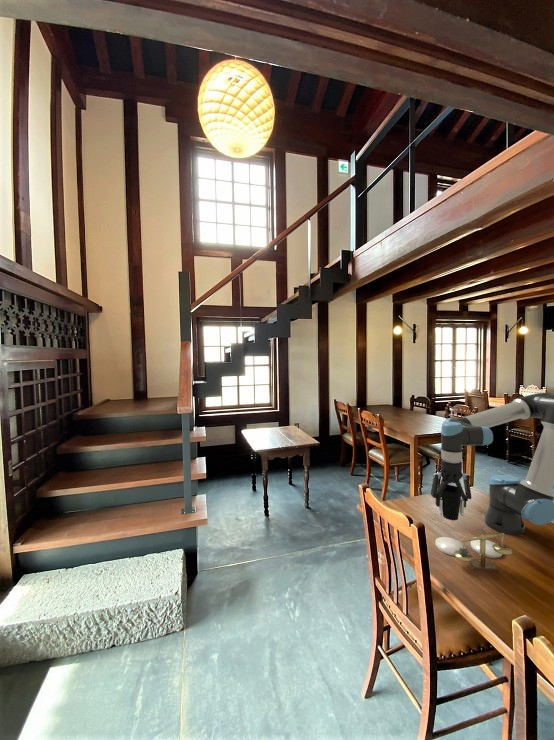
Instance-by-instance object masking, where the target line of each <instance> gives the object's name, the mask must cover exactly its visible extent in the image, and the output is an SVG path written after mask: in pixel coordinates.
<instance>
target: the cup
mask: <svg viewBox="0 0 554 740" xmlns="http://www.w3.org/2000/svg"><path fill="white" fill-rule="evenodd" d="M461 492H462V490H460V491H459V490H458V488H457V486H456V485H452V484H448V485H447V486H446V488H445V490H443V494H442V496H441V499H442V517H443V518H444V519H446V520H449V521H457V520H459V515H460V514H459V508H460V500H461V498H462V497H461Z"/></svg>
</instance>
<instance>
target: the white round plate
mask: <svg viewBox="0 0 554 740" xmlns="http://www.w3.org/2000/svg"><path fill="white" fill-rule="evenodd" d="M493 544H497V543H496V542H493V541H491V540H488V539H486V553H485V558H490V559H499V558H501V557H503V554H500V553H498V552H496V551H495V550H494V549H493ZM470 548H471V549H472V550H473V552H474V553H477V554H478V555H480V540H474V541H470Z"/></svg>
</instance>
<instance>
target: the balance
mask: <svg viewBox="0 0 554 740" xmlns="http://www.w3.org/2000/svg"><path fill="white" fill-rule="evenodd" d="M499 537H500V538H501V543H496V544H493V549H494V550H495V551H496V552H498V553H500V554H503V555H504V556H511V555H512V554H513V550H512V548H510V547H509V546H507V545H505V544H504V537H505V533H502V532H497V533H490V534H489V533H488V534H484V533H480V534H479V535H477V536H470V537H463V538H461V541H462V544H463V548H459V550H457V551H455V552H454V555H455V556H454V557H455V558H456V559H457V560H459V561H461V562H465V563H468V564H469V565H470V566H471V568H472V569H473V570H474V571H477V572H478V571H479V572H493V573H494V572H495V573H498V571H499V570H498V567H497V566H496V565H495V564H494V563H493V562H492V561H493V560H491V559H486V557H485V553H486V540H488V539H494V538H499ZM474 540H480V554H479V558H474V557H473V555H472V554H471V553H469V552H468V551H467V548H466V549H464V546H465V543H466V542H471V541H474ZM503 555H502V556H503Z"/></svg>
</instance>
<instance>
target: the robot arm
mask: <svg viewBox="0 0 554 740" xmlns="http://www.w3.org/2000/svg"><path fill="white" fill-rule="evenodd" d="M532 418H534V419H541V420H540V422H541V424H542V426H543V429H542V432H541V435H540V438H539V441H538V443H537V447H536V449H535V450H534V451H535V452H534V455H533V457H532V460H531V463H530V466H529V468H528V472H527V475H526V477H525V480H521V479H520V478H518V477H516V476H512V475H505V474H496V475H492V476H491V477H490V478H489V483H488V484H489V498H488V500H489V501H488V502H489V503H488V504H489V505H488V508H487V510H486V513H485V515H484V523H485V524H486V526H488V527H489V528H491V529H492V530H495V531H497V532H498V533H504V534H507V535H512V536H513V535H515V536H517V535H522V534H524V533H525V532H526V531H525V529H526V526H525V522H524V520H525V521H528V522H530V523H532V524H533V525H537V526H543V525H548V524H550V523H551V522H553V521H554V492H553V491H552V489H553V486H554V393H551V392H540V393H539V392H538V393H533V394H530V395H525V396H521V397H518V398H515V399H513V400H512V401H511V402H509V403H505V404H503V405H500V406H496V407H493V408H489V409H486V410H483V411H479V412H476V413H473V414H470V415H469V414H468V415H466V416H462V417H459V418H451V417H449V418H448V417H447V418H445V419H444V421H443V422H442V423H441V431H440V434H441V436H440V437H441V439H440V441H441V442H440V443H441V447H440V449H441V450H440V458H441V460H440V471H439V472H432V476H433V479H432V484H431V490H430V495H431V497H432V498H433V499H435V506H436V507H437V513H438V515H439V516H443V511H442V499H441V496H442V494H443V490H445V488H446V486H447V485H449V484H455V486H456V487H457V488H458V490H459V491H460V490H462V492H461V500H460V508H459V515H460V516H461V517H464V516H465V508H467V502H468V500H471V499H472V497H473V496H472V491H471V485H470V479H471V476H470V475H469V474H468V473H465V472H464V473H463V472H462V471H463V462H462V461H463V446H466V447H467V446H468V447H469V446H470V447H471V446H475V447H476V446H481V447H482V446H487V445H491V444H492V443H493V441H494V434H493V431H492V430H491V428H493V427H495V426H500V425H503V424H506V423H509V422H512V421H516V420H519V419H521V420H527V419H532ZM440 478H441V480H440ZM461 479H462V480H463V487H464V488H463V487H462V483H461V481H460V480H461ZM439 480H440V481H441V482H440V481H439ZM439 482H440V483H439ZM523 519H524V520H523Z"/></svg>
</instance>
